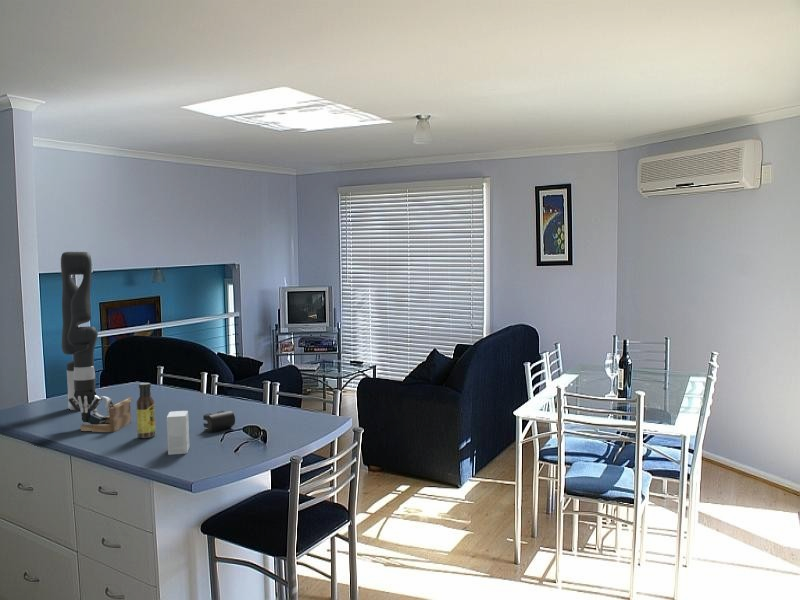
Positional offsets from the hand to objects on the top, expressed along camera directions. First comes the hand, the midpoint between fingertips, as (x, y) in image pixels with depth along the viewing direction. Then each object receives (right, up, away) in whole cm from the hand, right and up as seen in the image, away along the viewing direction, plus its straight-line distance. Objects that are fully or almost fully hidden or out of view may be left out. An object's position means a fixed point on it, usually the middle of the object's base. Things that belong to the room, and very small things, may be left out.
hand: (86, 421), depth 262 cm
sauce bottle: (+29, -3, -14) cm, 32 cm away
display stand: (+8, -2, +1) cm, 8 cm away
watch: (+3, -1, +2) cm, 4 cm away
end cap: (+53, -2, -5) cm, 54 cm away
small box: (+47, -4, -32) cm, 57 cm away
